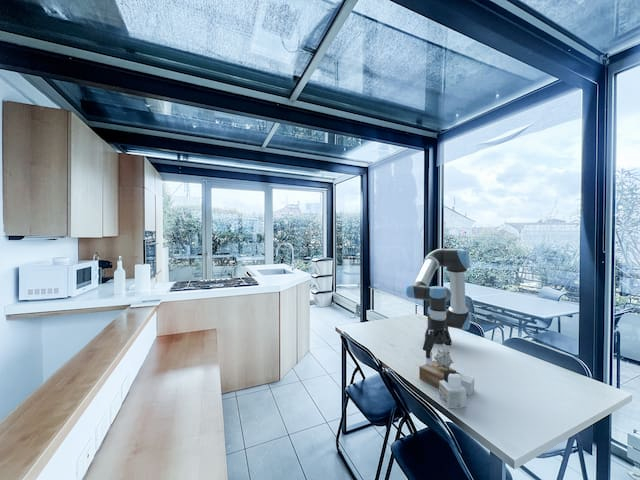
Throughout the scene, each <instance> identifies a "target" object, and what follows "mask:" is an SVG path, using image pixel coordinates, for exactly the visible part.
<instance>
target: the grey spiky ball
mask: <svg viewBox="0 0 640 480" xmlns="http://www.w3.org/2000/svg"><path fill="white" fill-rule="evenodd" d="M433 358H434V360H435V361H436V362H437V364H438V367H444V368H448V370H449V368H450V366H451V364H454V363H455V362H454V361H453V360H452V358H451V356H450V351H449V352H448V353H446V352H443V351H440V349H437V354H436V355H435V356H433ZM438 367H437V368H438Z"/></svg>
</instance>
